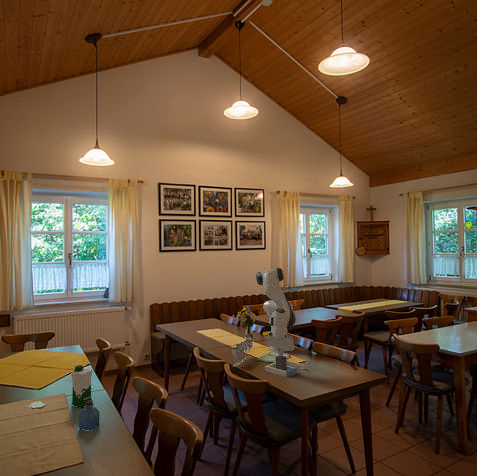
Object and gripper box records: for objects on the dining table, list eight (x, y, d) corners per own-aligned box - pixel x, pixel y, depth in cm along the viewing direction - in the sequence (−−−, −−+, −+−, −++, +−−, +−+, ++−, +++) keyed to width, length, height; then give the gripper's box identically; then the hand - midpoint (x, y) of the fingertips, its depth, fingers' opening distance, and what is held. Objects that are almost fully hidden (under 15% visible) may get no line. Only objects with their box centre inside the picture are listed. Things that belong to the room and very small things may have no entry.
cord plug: (280, 370, 251) (280, 355, 251) (286, 371, 248) (286, 356, 248) (275, 371, 248) (275, 356, 248) (281, 373, 244) (281, 358, 244)
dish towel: (291, 357, 282) (291, 352, 282) (277, 365, 262) (276, 360, 263) (271, 354, 291) (271, 349, 291) (256, 361, 272) (255, 356, 272)
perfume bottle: (78, 429, 171) (79, 403, 171) (88, 423, 177) (88, 398, 177) (89, 432, 169) (89, 405, 169) (99, 425, 174) (99, 399, 175)
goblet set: (238, 367, 259) (237, 347, 259) (230, 366, 261) (230, 346, 262) (254, 356, 284) (253, 338, 285) (247, 355, 287) (246, 338, 287)
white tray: (284, 363, 265) (284, 358, 265) (306, 369, 251) (306, 364, 251) (264, 370, 250) (264, 365, 251) (287, 377, 237) (287, 371, 237)
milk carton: (81, 400, 204) (82, 363, 204) (94, 403, 200) (94, 365, 201) (69, 406, 196) (69, 368, 196) (82, 409, 192) (82, 370, 193)
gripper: (296, 335, 243) (296, 357, 243) (272, 330, 258) (272, 351, 257) (290, 337, 239) (290, 359, 238) (265, 332, 253) (266, 353, 253)
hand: (280, 355), depth 248 cm, fingers closed
